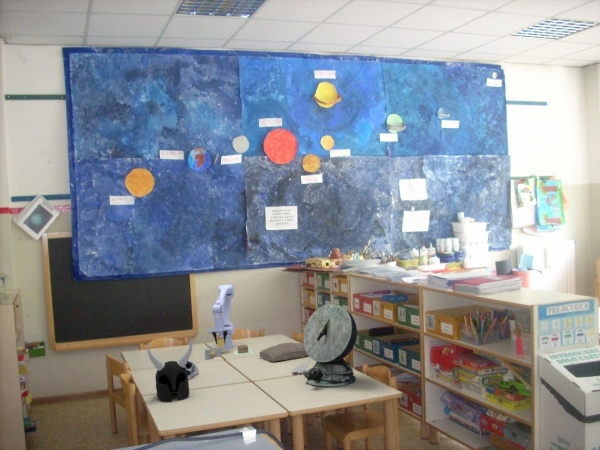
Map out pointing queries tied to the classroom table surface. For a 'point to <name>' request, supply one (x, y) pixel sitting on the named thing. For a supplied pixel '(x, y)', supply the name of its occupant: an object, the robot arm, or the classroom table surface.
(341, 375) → the sundial
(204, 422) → the classroom table surface
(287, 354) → the stone tablet
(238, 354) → the build plate
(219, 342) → the brick
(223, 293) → the robot arm
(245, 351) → the base block
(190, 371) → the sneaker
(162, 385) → the helmet
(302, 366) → the figurine
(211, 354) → the tile
